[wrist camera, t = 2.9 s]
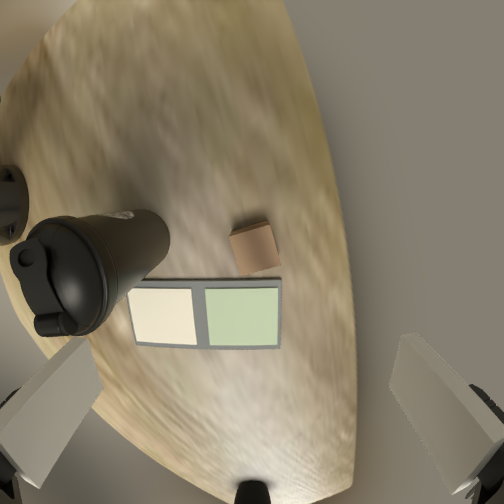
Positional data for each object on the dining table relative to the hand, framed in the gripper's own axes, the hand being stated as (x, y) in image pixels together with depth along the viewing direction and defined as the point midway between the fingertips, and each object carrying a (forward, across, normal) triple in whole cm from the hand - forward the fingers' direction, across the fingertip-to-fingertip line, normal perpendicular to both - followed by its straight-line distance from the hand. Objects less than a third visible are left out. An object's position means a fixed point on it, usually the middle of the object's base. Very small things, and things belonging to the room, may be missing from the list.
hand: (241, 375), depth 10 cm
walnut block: (+29, +1, 0) cm, 29 cm away
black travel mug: (+29, -15, +1) cm, 33 cm away
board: (+28, -7, -11) cm, 31 cm away
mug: (+29, 0, -62) cm, 68 cm away
